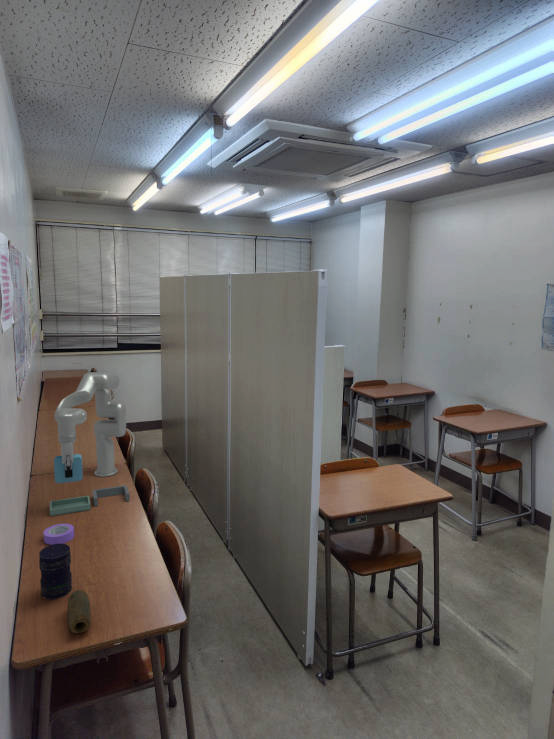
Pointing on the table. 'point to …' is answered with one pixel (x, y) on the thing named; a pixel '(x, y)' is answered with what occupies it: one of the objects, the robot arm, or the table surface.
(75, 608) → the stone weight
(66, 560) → the storage jar
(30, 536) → the table surface
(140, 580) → the table surface
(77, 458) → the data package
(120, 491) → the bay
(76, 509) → the tray
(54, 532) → the masking tape
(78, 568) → the table surface
